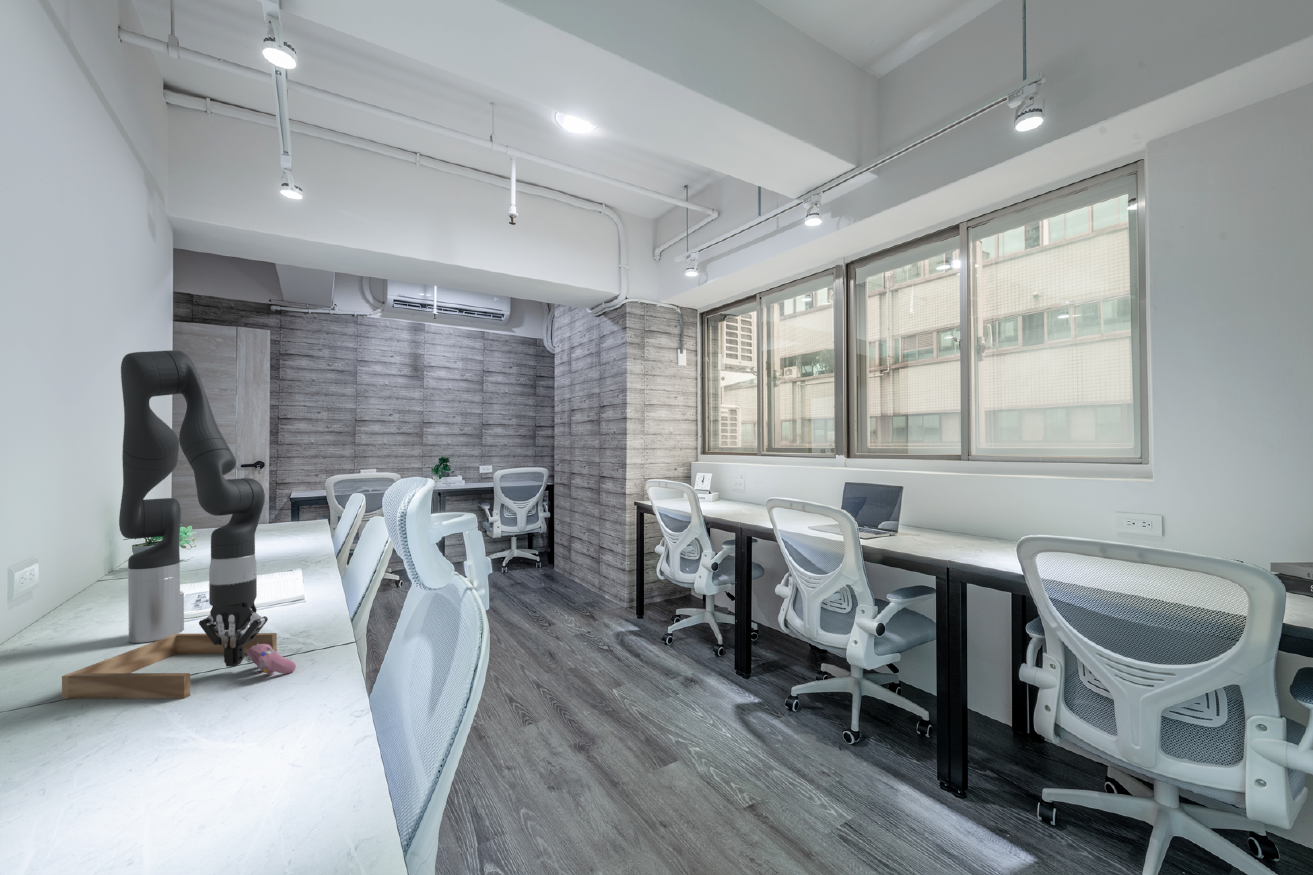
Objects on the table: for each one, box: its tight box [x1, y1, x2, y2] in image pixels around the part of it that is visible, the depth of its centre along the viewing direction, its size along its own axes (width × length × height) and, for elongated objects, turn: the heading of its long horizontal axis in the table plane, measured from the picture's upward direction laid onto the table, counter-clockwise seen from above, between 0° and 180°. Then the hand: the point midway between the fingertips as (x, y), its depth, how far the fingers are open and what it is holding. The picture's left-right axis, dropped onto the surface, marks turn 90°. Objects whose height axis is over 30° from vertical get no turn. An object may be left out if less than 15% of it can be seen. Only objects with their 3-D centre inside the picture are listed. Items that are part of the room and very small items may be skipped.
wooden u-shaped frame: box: [61, 632, 278, 699], centre depth 110 cm, size 22×23×4 cm
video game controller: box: [245, 643, 297, 676], centre depth 109 cm, size 10×5×7 cm, turn 56°
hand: (233, 665), depth 109 cm, fingers closed
